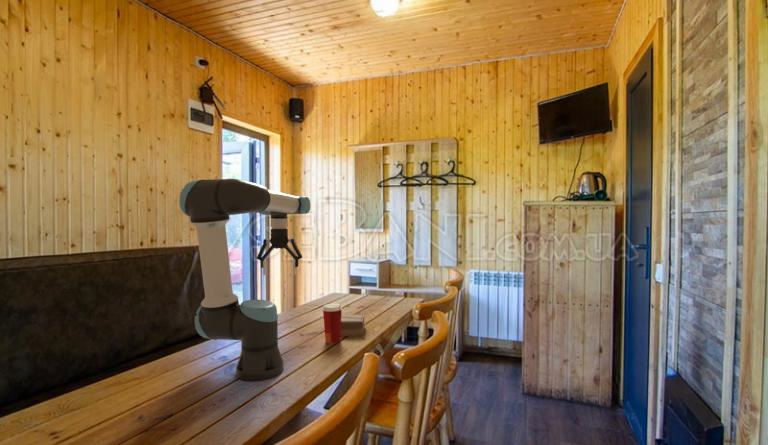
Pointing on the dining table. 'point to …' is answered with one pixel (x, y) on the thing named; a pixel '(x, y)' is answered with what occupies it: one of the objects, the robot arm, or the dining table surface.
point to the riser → (352, 325)
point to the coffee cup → (332, 323)
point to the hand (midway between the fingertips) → (279, 274)
